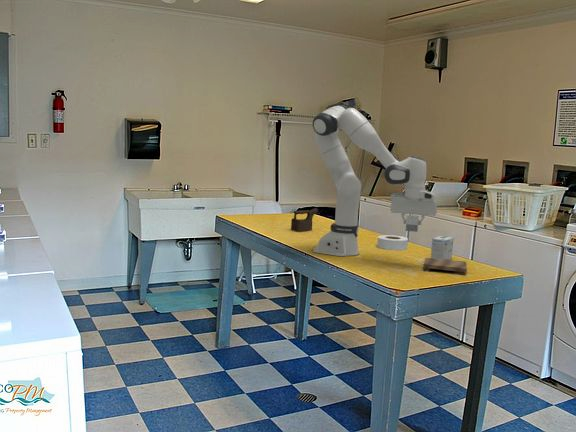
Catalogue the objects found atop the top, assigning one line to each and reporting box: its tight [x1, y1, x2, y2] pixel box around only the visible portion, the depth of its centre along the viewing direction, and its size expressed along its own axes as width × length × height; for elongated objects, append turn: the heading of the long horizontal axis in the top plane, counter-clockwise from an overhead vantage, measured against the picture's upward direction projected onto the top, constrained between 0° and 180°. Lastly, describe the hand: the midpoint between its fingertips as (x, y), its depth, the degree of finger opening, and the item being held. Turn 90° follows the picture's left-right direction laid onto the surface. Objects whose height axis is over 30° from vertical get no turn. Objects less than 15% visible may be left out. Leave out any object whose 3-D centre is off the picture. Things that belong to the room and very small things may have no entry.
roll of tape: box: [377, 234, 409, 252], centre depth 282 cm, size 16×16×6 cm
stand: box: [423, 257, 468, 276], centre depth 238 cm, size 18×14×3 cm
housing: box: [405, 214, 420, 233], centre depth 240 cm, size 5×8×6 cm, turn 165°
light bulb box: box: [430, 235, 455, 260], centre depth 258 cm, size 11×7×11 cm, turn 141°
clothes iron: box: [290, 207, 319, 233], centre depth 322 cm, size 8×16×13 cm, turn 121°
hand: (412, 224), depth 240 cm, fingers closed on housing, 5 cm apart
